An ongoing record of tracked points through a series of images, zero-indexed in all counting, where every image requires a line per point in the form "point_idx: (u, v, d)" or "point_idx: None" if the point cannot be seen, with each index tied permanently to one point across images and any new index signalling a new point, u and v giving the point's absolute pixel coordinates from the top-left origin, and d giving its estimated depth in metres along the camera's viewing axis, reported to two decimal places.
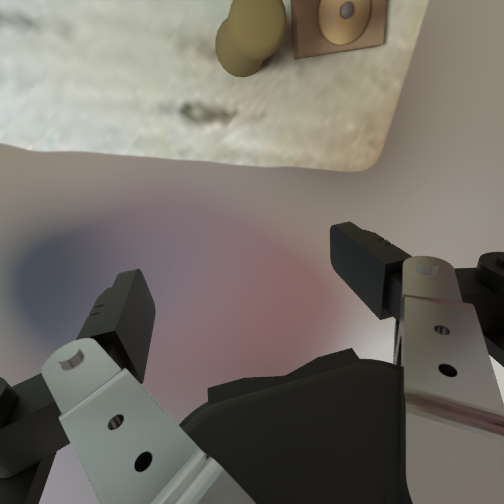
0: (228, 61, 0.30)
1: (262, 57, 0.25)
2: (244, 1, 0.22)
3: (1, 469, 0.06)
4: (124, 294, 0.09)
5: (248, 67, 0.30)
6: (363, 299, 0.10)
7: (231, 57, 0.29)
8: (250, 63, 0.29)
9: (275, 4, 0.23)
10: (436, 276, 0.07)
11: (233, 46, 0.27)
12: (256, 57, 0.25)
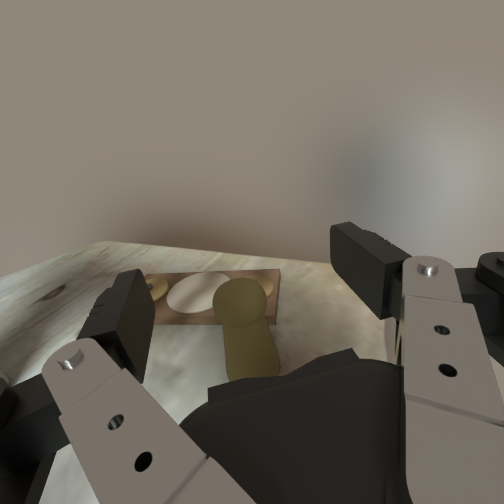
0: (261, 365, 0.27)
1: (265, 297, 0.25)
2: (221, 297, 0.24)
3: (1, 469, 0.06)
4: (124, 294, 0.09)
5: (271, 343, 0.28)
6: (363, 299, 0.10)
7: (258, 353, 0.26)
8: (268, 334, 0.27)
9: (231, 280, 0.27)
10: (436, 276, 0.07)
11: (249, 338, 0.26)
12: (263, 301, 0.25)
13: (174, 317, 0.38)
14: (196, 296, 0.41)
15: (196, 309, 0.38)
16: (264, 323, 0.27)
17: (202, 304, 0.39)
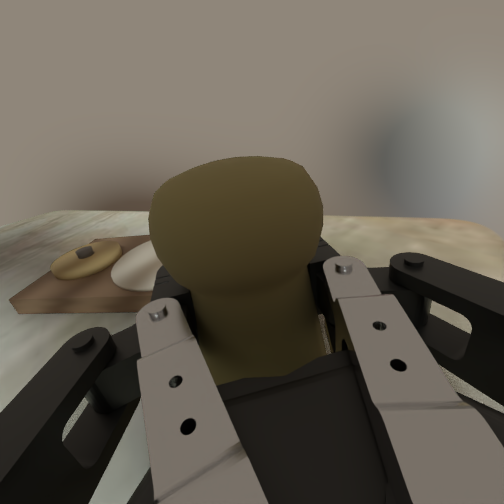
0: None
1: (319, 196, 0.08)
2: (171, 189, 0.07)
3: (96, 405, 0.07)
4: None
5: (324, 348, 0.10)
6: None
7: None
8: (318, 321, 0.10)
9: None
10: (347, 274, 0.08)
11: (269, 332, 0.08)
12: (318, 207, 0.07)
13: (117, 298, 0.20)
14: (162, 264, 0.23)
15: None
16: (310, 289, 0.09)
17: None
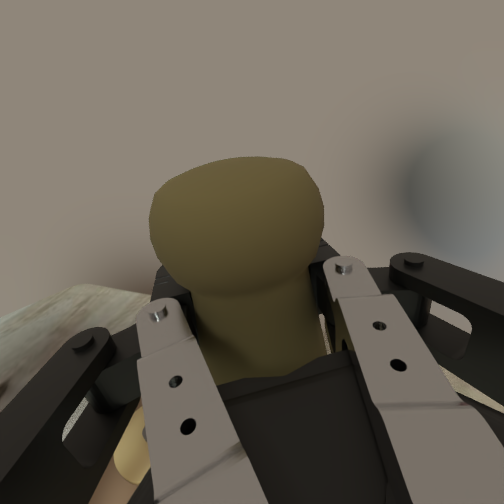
0: None
1: (320, 197, 0.08)
2: (171, 189, 0.07)
3: (96, 405, 0.07)
4: None
5: (324, 349, 0.10)
6: None
7: None
8: (319, 322, 0.10)
9: None
10: (347, 274, 0.08)
11: (270, 333, 0.08)
12: (319, 208, 0.07)
13: None
14: None
15: None
16: (311, 290, 0.09)
17: None
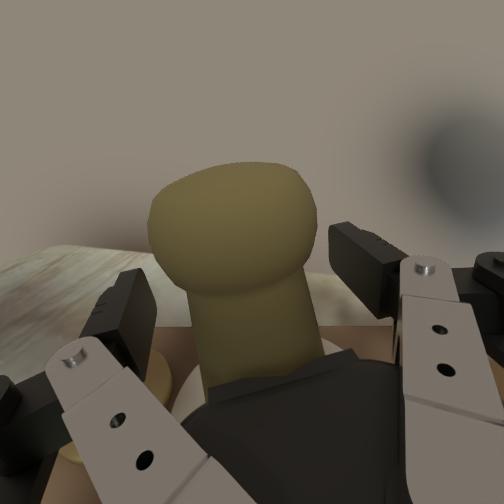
0: None
1: None
2: (168, 193, 0.07)
3: (5, 466, 0.06)
4: (126, 293, 0.09)
5: (323, 351, 0.10)
6: (361, 299, 0.10)
7: None
8: (316, 323, 0.10)
9: None
10: (433, 276, 0.07)
11: (266, 332, 0.08)
12: (311, 209, 0.08)
13: None
14: None
15: None
16: (307, 291, 0.09)
17: None
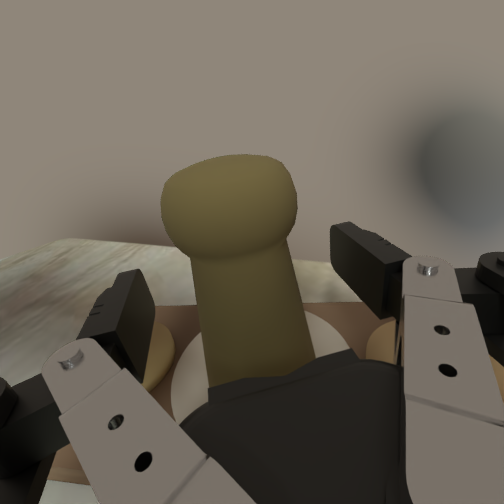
0: (282, 364, 0.11)
1: None
2: (178, 178, 0.09)
3: (1, 469, 0.06)
4: (124, 294, 0.09)
5: (303, 314, 0.12)
6: (363, 299, 0.10)
7: (276, 334, 0.11)
8: (297, 290, 0.12)
9: None
10: (436, 276, 0.07)
11: (254, 292, 0.10)
12: (291, 193, 0.09)
13: None
14: None
15: None
16: (289, 262, 0.11)
17: None
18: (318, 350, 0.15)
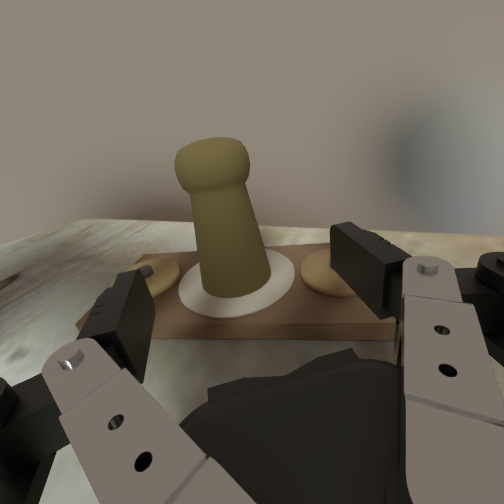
0: (244, 259, 0.20)
1: (246, 153, 0.18)
2: (184, 148, 0.17)
3: (1, 469, 0.06)
4: (124, 294, 0.09)
5: (258, 234, 0.21)
6: (363, 299, 0.10)
7: (239, 239, 0.19)
8: (253, 218, 0.20)
9: None
10: (436, 276, 0.07)
11: (225, 212, 0.18)
12: (244, 157, 0.18)
13: (195, 326, 0.19)
14: None
15: (239, 310, 0.19)
16: (247, 199, 0.20)
17: (248, 300, 0.20)
18: (273, 267, 0.24)
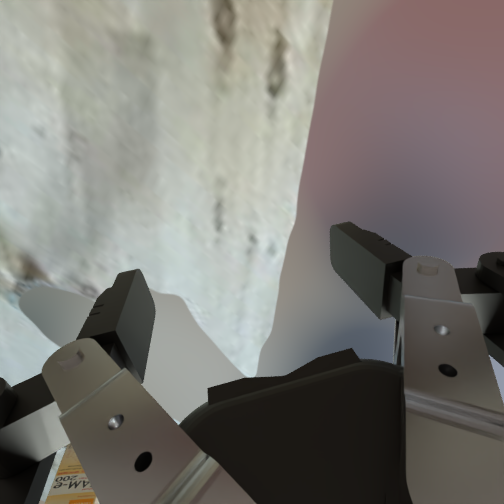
0: None
1: None
2: None
3: (1, 469, 0.06)
4: (124, 294, 0.09)
5: None
6: (363, 299, 0.10)
7: None
8: None
9: None
10: (436, 276, 0.07)
11: None
12: None
13: None
14: None
15: None
16: None
17: None
18: None
